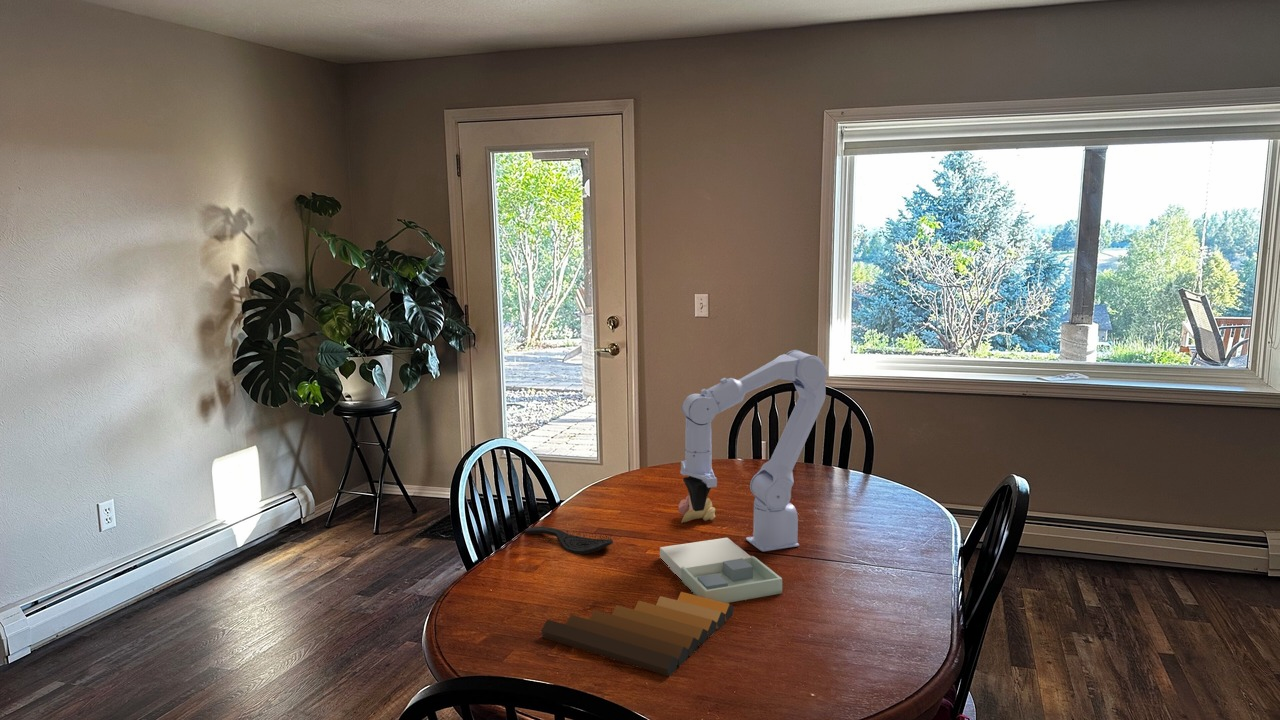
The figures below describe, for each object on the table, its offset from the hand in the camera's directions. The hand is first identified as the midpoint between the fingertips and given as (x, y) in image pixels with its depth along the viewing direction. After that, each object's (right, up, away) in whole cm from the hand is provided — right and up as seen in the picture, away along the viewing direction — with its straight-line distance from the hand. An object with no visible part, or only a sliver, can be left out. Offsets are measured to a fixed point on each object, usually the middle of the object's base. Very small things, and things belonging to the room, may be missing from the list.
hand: (698, 509), depth 176 cm
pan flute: (-13, -15, -33) cm, 38 cm away
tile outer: (+1, -10, -21) cm, 23 cm away
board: (+1, -10, -6) cm, 12 cm away
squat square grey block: (+7, -11, -13) cm, 18 cm away
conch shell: (0, -7, +21) cm, 22 cm away
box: (+5, -12, -17) cm, 22 cm away
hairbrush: (-30, -9, +7) cm, 32 cm away
